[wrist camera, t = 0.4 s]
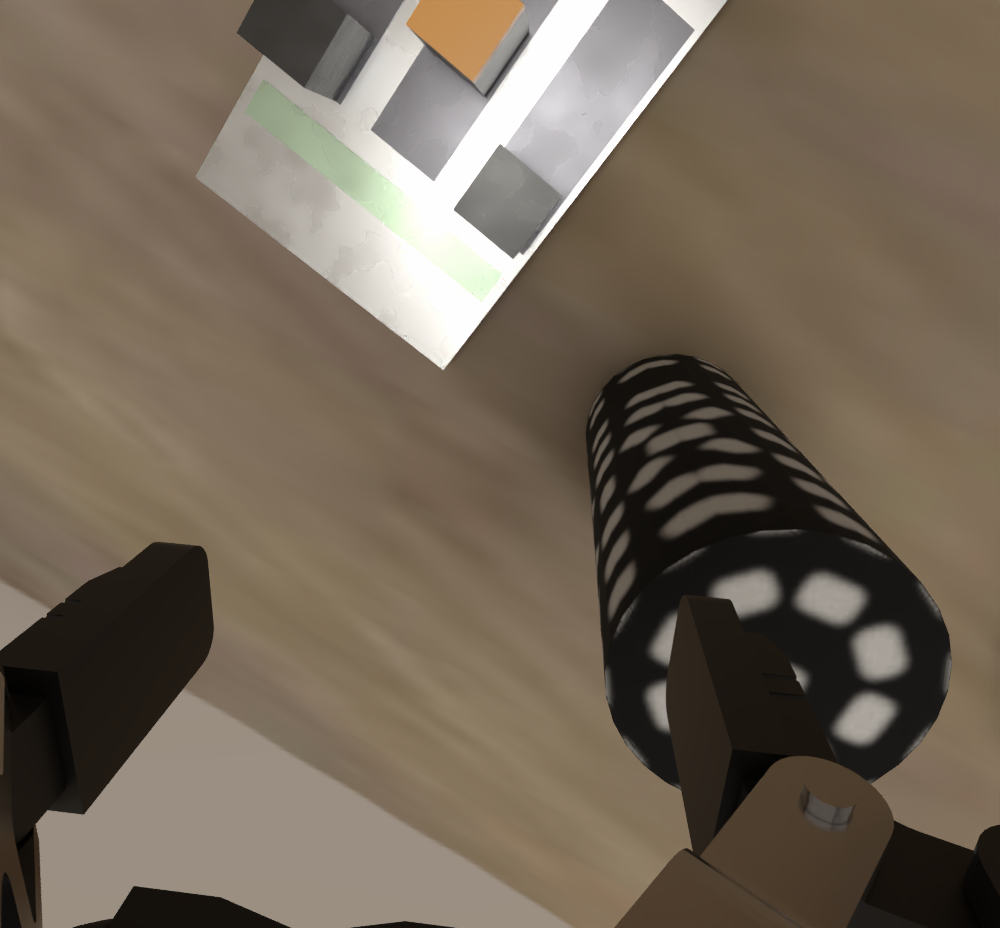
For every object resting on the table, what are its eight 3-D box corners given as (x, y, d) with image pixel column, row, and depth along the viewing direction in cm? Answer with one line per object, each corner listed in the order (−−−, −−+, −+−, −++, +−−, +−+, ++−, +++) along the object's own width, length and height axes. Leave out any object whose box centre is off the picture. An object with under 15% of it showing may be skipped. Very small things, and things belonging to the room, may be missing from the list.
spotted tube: (559, 471, 38) (551, 737, 19) (631, 326, 35) (705, 472, 16) (701, 533, 38) (829, 852, 20) (784, 395, 35) (1026, 615, 17)
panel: (531, -376, 26) (521, -534, 21) (806, -104, 29) (866, -179, 23) (215, 178, 34) (145, 174, 29) (449, 361, 36) (428, 391, 31)
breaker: (470, -23, 28) (455, -57, 25) (529, 29, 29) (524, 4, 25) (426, 46, 29) (405, 24, 26) (484, 96, 30) (472, 81, 26)
